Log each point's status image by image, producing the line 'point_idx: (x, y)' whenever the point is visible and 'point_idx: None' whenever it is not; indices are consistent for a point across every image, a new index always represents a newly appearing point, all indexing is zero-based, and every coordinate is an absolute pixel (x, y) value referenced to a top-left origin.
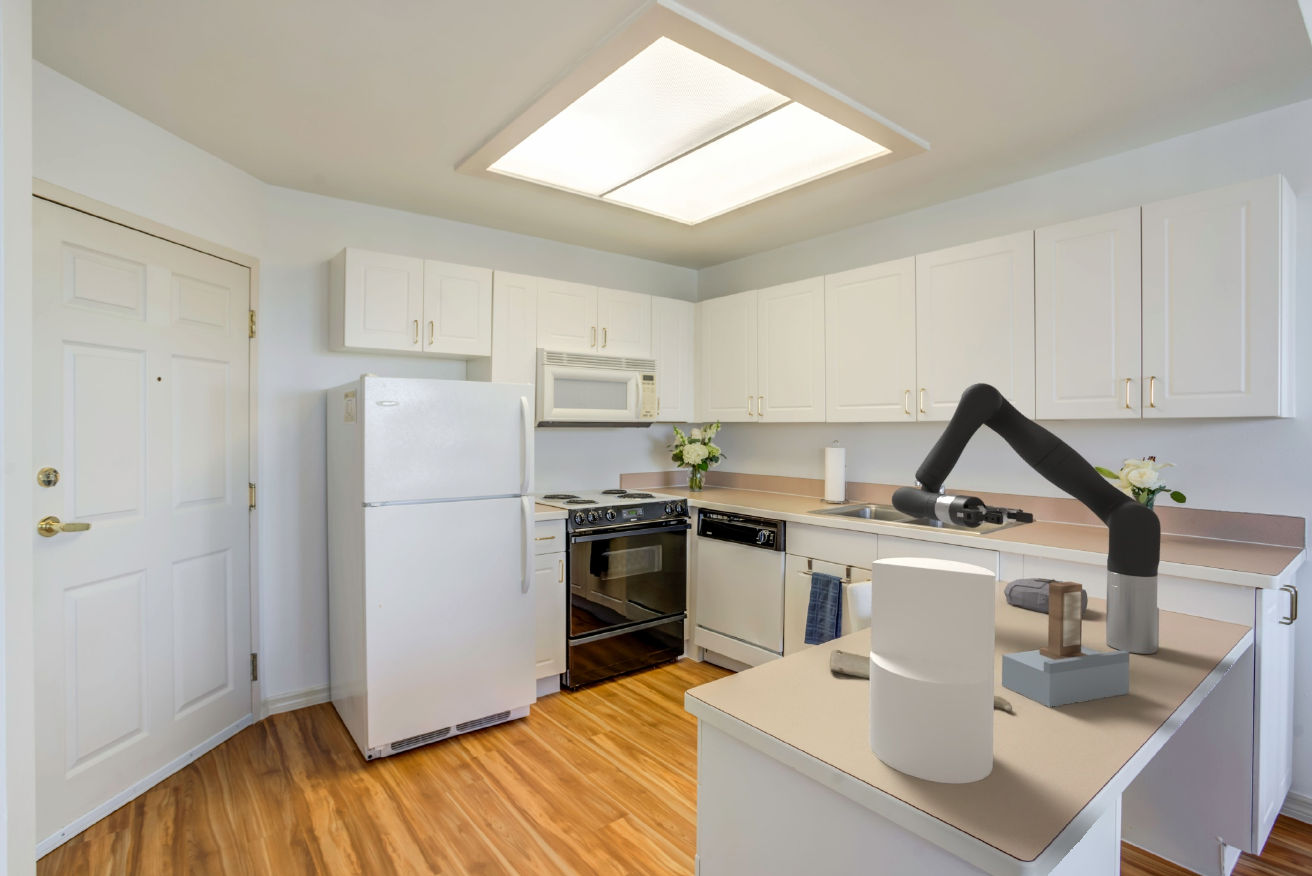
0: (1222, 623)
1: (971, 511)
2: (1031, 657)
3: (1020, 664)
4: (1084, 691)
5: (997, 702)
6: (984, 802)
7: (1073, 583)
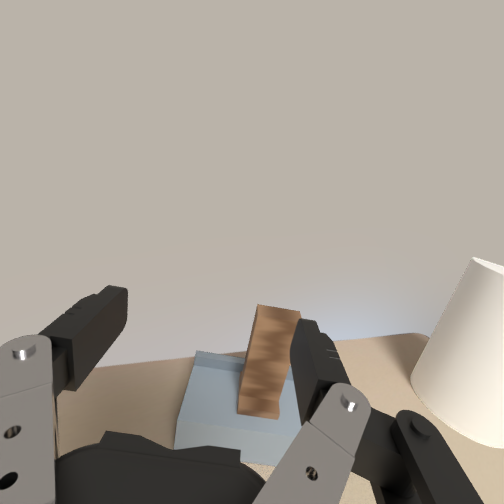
0: None
1: (451, 461)
2: (299, 417)
3: None
4: None
5: None
6: None
7: (265, 309)
